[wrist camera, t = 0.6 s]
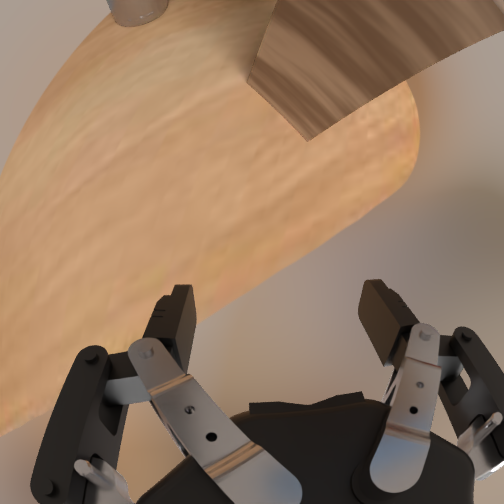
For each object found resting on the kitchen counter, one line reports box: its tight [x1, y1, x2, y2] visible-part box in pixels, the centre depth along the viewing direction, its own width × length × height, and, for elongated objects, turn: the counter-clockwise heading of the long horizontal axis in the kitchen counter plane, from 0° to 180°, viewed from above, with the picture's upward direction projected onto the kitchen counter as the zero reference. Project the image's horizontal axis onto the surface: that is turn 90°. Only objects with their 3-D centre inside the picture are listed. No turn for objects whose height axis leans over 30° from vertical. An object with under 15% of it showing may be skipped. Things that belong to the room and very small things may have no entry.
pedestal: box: [247, 0, 504, 142], centre depth 19 cm, size 12×12×32 cm
